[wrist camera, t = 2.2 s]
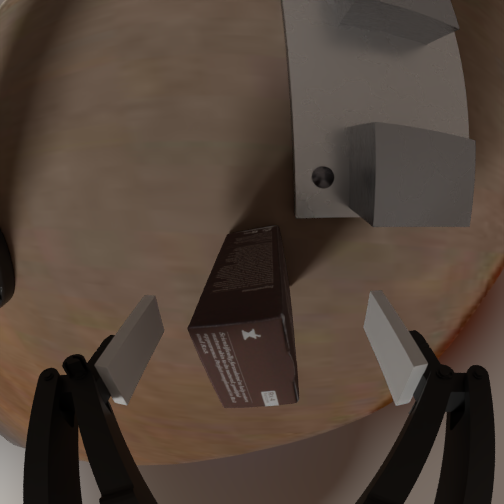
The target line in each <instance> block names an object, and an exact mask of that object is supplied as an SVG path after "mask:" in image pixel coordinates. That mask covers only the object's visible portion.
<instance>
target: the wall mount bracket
mask: <svg viewBox="0 0 504 504" xmlns="http://www.w3.org/2000/svg"><path fill="white" fill-rule="evenodd" d="M281 6H282V15H283V24H284V33H285V43H286V54H287V66H288V78H289V92H290V108H291V126H292V147H293V176H294V215H295V217H296V218H331V217H362V218H363V219H364V220H365V221H367V222H368V223H369V224H370V225H372V226H373V227H469V226H470V220H471V212H472V204H473V194H474V181H475V152H476V147H475V140H472V139H469V124H468V109H467V98H466V90H465V82H464V75H463V69H462V64H461V58H460V54H459V49H458V45H457V40H456V36H455V32H454V31H457V30H459V25H458V22H457V19H456V15H455V12H454V9H453V6H452V4H451V1H450V0H281Z"/></svg>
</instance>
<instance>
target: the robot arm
mask: <svg viewBox="0 0 504 504" xmlns="http://www.w3.org/2000/svg"><path fill="white" fill-rule="evenodd" d="M13 292H14V274H13V267H12V263H11V258H10V255H9V251H8V248H7V245H6V242H5V239H4V237H3V234H2V232H1V230H0V308H1V307H2V306H3V305H5V304H6V303H7V302H8V301H9V300H10V299H11V298H12V296H13ZM364 330H365V332H366V334H367V337H368V339H369V341H370V343H371V346H372V348H373V350H374V353H375V355H376V357H377V360H378V362H379V365H380V367H381V369H382V372H383V374H384V377H385V379H386V382H387V384H388V387H389V389H390V392H391V394H392V397H393V400H394V402H395V405H396V406H398V405H402V404H406V403H409V402H410V400H411V398H412V396H414V398H415V400H416V402H415V404H414V405H413V407H412V409H411V411H410V412H409V416H408V418H407V420H406V422H405V424H404V426H403V428H402V430H401V432H400V434H399V436H398V438H397V440H396V442H395V443H394V445H393V447H392V449H391V451H390V452H389V454H388V456H387V457H386V459H385V461H384V462H383V464H382V466H381V467H380V469H379V470H378V472H377V473H376V475H375V477H374V478H373V479H372V481H371V482H370V484H369V485H368V487H367V488H366V490H365V491H364V492H363V494H362V495H361V497H360V498H359V499H358V500H357V502H356V503H355V504H404V502H405V500H406V499H407V497H408V495H409V493H410V492H411V490H412V488H413V486H414V484H415V482H416V481H417V478H418V477H419V474H420V473H421V470H422V468H423V466H424V464H425V462H426V460H427V457H428V455H429V453H430V451H431V448H432V446H433V443H434V441H435V438H436V436H437V433H438V431H439V428H440V425H441V422H442V419H443V416H444V413H445V412H447V420H446V435H445V445H444V453H443V460H442V467H441V473H440V479H439V484H438V489H437V493H436V498H435V502H434V504H491V500H492V492H493V482H494V468H495V429H494V428H495V427H494V413H493V403H492V395H491V387H490V380H489V375H488V372H487V371H486V369H485V368H483V367H482V366H479V365H473V366H471V367H470V368H469V369H468V371H467V373H454V371H453V370H452V369H451V368H450V367H448V366H446V365H442V364H440V362H439V361H438V359H437V357H436V356H435V354H434V353H433V351H432V350H431V348H429V345H428V343H426V340H425V339H424V337H423V336H422V335H421V334H420V333H419V332H417V331H416V330H413V331H408V330H407V328H406V326H405V325H404V323H403V322H402V320H401V319H400V317H399V316H398V314H397V313H396V311H395V309H394V308H393V306H392V305H391V304H390V302H389V301H388V299H387V298H386V296H385V295H384V293H383V292H382V290H377V291H370V295H369V301H368V307H367V312H366V318H365V323H364ZM163 333H164V328H163V324H162V320H161V316H160V313H159V309H158V305H157V301H156V296H152V295H145V296H144V297H143V298H142V299H141V301H140V302H139V303H138V305H137V306H136V307H135V309H134V310H133V311H132V313H131V314H130V315H129V317H128V318H127V320H126V321H125V322H124V324H123V325H122V326H121V328H120V329H119V331H118V332H117V333H116V335H110V336H109V337H107V338H106V339H105V340H104V341H103V342H102V343H101V345H100V347H99V348H98V349H97V351H96V352H95V353H94V354H93V356H92V357H91V359H90V360H89V361H88V363H87V362H86V360H85V358H84V356H82V355H80V354H75V355H71V356H69V357H67V358H66V359H65V360H64V362H63V365H62V367H63V368H64V370H65V372H66V374H67V375H60V374H59V373H58V371H57V370H56V369H54V368H48V369H46V370H44V371H43V372H42V373H41V374H40V376H39V379H38V383H37V387H36V391H35V395H34V400H33V405H32V410H31V415H30V421H29V427H28V434H27V442H26V451H25V462H24V481H23V482H24V483H23V501H24V503H23V504H82V498H81V488H80V476H79V455H78V425H79V429H80V433H81V436H82V440H83V444H84V447H85V450H86V454H87V457H88V460H89V463H90V466H91V468H92V471H93V474H94V477H95V480H96V482H97V485H98V487H99V490H100V492H101V498H100V499H99V502H100V504H157V502H156V500H155V498H154V497H153V495H152V493H151V491H150V490H149V488H148V486H147V484H146V483H145V481H144V479H143V477H142V475H141V474H140V471H139V470H138V468H137V466H136V464H135V462H134V460H133V457H132V455H131V453H130V451H129V449H128V447H127V445H126V442H125V440H124V438H123V435H122V433H121V431H120V428H119V426H118V423H117V421H116V418H115V416H114V413H113V410H112V408H111V405H110V403H109V401H108V400H109V398H110V396H111V397H112V398H113V400H114V402H115V403H119V404H124V405H128V403H129V401H130V399H131V396H132V394H133V392H134V390H135V388H136V386H137V384H138V382H139V380H140V378H141V376H142V374H143V372H144V370H145V368H146V366H147V364H148V362H149V360H150V358H151V356H152V354H153V352H154V350H155V348H156V346H157V344H158V342H159V340H160V338H161V336H162V334H163Z"/></svg>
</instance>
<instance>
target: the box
mask: <svg viewBox="0 0 504 504" xmlns="http://www.w3.org/2000/svg"><path fill="white" fill-rule="evenodd" d="M187 329H188V331H189V334H190V336H191V338H192V341H193V343H194V346H195V348H196V350H197V353H198V355H199V357H200V360H201V362H202V364H203V366H204V368H205V370H206V372H207V375H208V377H209V379H210V381H211V383H212V385H213V387H214V389H215V391H216V393H217V395H218V397H219V399H220V401H221V403H222V405H223V407H224V408H245V407H261V406H274V405H283V404H293V403H297V402H298V400H299V387H298V372H297V361H296V350H295V338H294V327H293V317H292V306H291V298H290V288H289V280H288V274H287V268H286V262H285V256H284V251H283V245H282V240H281V234H280V230H279V226H267V227H263V228H256V229H251V230H247V231H241V232H236V233H231V234H227V236H226V238H225V241H224V243H223V245H222V247H221V250H220V252H219V254H218V257H217V259H216V261H215V264H214V266H213V269H212V271H211V274H210V276H209V278H208V280H207V283H206V285H205V287H204V290H203V293H202V295H201V297H200V300H199V303H198V305H197V307H196V309H195V312H194V315H193V317H192V319H191V322H190V324H189V326H188V328H187Z"/></svg>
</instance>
